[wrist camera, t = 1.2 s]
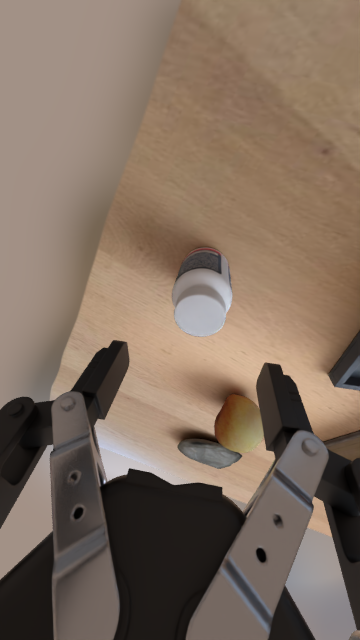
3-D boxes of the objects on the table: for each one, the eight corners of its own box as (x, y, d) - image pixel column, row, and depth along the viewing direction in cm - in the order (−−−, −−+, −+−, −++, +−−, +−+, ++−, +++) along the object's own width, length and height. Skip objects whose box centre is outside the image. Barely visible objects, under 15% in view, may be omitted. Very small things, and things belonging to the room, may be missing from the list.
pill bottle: (171, 266, 23) (150, 310, 16) (209, 235, 21) (204, 270, 14) (201, 299, 25) (193, 351, 18) (239, 274, 23) (248, 323, 16)
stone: (243, 449, 46) (245, 466, 43) (215, 461, 51) (215, 476, 48) (195, 425, 42) (194, 442, 40) (170, 440, 48) (168, 455, 45)
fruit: (227, 415, 39) (229, 465, 32) (204, 389, 35) (201, 439, 29) (268, 407, 35) (279, 460, 29) (248, 378, 32) (255, 430, 26)
